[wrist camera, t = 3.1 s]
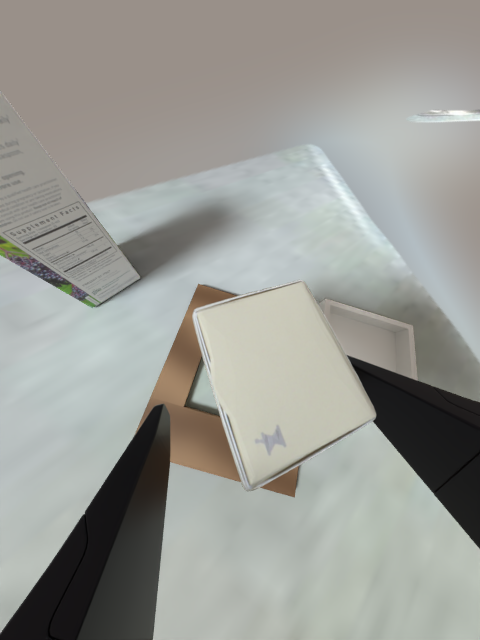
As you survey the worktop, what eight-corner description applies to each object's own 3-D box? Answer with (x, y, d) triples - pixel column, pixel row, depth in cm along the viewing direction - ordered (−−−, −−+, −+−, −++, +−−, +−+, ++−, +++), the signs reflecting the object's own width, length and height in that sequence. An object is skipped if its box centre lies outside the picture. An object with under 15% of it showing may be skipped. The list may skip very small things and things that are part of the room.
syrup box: (64, 272, 18) (-397, -38, 5) (115, 245, 20) (-107, -38, 6) (93, 309, 17) (-365, 62, 4) (144, 277, 19) (-40, 30, 6)
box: (268, 392, 17) (395, 431, 5) (226, 410, 16) (248, 518, 4) (249, 342, 18) (308, 272, 6) (209, 356, 17) (185, 306, 5)
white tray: (398, 423, 17) (421, 428, 15) (303, 394, 17) (314, 396, 15) (394, 330, 21) (413, 325, 19) (315, 306, 21) (325, 298, 19)
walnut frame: (291, 492, 14) (294, 497, 14) (131, 447, 14) (128, 450, 14) (314, 322, 20) (316, 320, 19) (199, 286, 20) (198, 283, 19)
